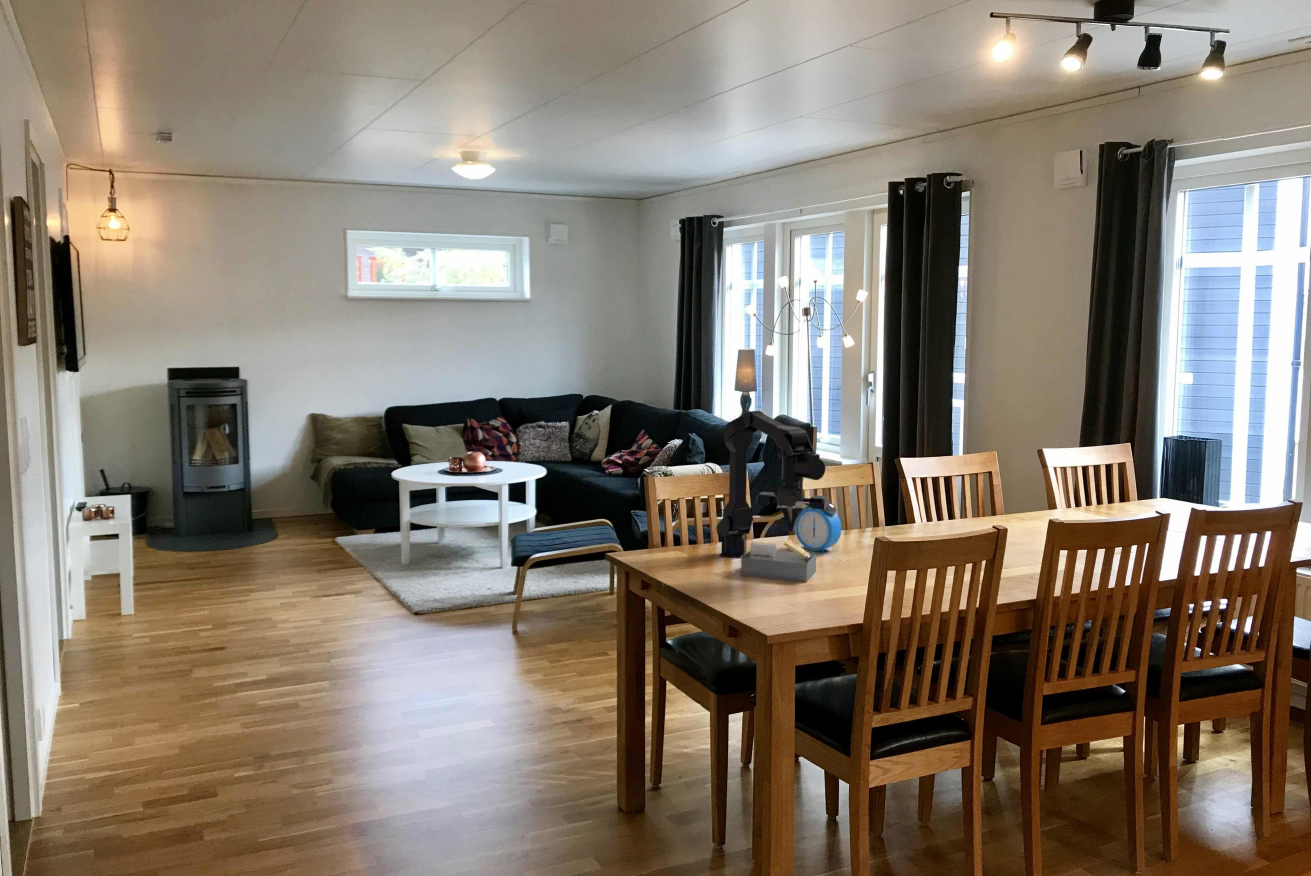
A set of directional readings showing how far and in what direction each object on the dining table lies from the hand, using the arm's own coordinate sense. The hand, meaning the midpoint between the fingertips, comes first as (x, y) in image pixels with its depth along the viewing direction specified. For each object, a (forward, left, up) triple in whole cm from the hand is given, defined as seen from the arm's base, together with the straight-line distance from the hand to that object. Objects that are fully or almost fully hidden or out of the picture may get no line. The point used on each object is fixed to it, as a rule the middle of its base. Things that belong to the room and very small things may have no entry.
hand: (791, 531), depth 281 cm
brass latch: (+2, 0, -5) cm, 5 cm away
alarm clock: (+1, +33, -12) cm, 35 cm away
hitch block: (-3, 0, -12) cm, 12 cm away
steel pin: (-8, 0, -12) cm, 14 cm away
